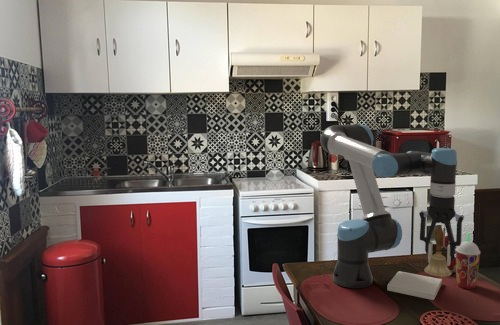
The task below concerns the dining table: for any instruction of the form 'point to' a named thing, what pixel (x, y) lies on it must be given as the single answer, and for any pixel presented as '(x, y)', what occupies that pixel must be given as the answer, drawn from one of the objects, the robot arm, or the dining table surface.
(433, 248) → the cake
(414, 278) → the stand
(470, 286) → the smoothie
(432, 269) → the hand bell
